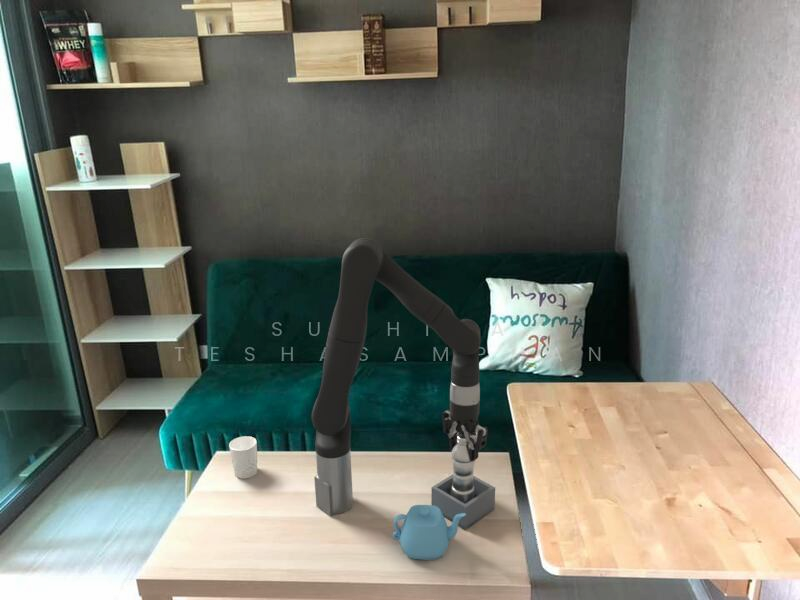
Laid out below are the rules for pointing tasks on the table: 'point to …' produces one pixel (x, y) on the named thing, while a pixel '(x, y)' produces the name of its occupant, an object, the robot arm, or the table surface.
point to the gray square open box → (473, 509)
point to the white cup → (244, 456)
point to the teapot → (425, 532)
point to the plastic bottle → (462, 471)
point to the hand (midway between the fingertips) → (463, 454)
